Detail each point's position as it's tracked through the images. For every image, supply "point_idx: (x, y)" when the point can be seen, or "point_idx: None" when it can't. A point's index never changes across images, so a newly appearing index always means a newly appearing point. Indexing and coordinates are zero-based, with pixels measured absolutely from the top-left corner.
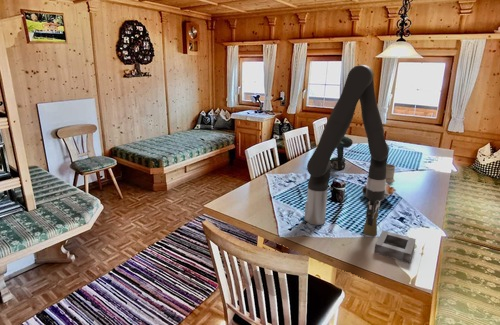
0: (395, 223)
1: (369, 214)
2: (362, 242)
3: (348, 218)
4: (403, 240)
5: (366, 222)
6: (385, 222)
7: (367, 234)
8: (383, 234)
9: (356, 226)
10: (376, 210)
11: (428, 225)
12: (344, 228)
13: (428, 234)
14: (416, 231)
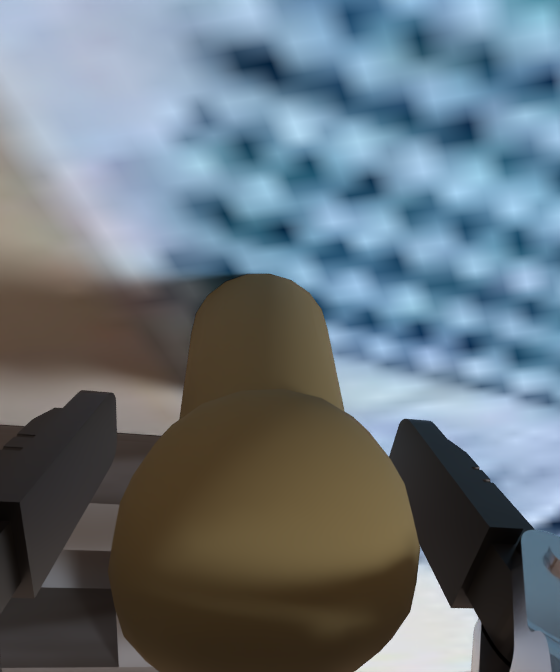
0: (508, 497)
1: (116, 531)
2: (7, 301)
3: (540, 37)
4: None
5: (210, 352)
6: (511, 435)
7: (192, 329)
8: (85, 524)
9: (340, 187)
10: (463, 589)
11: None
12: (217, 23)
13: (398, 643)
14: (416, 600)
